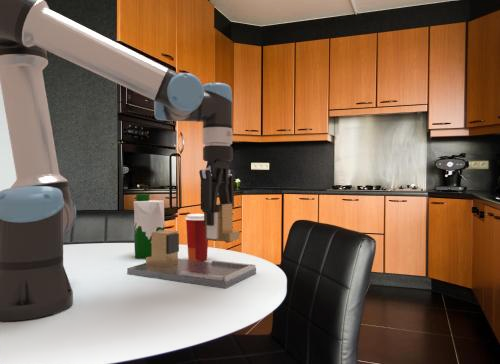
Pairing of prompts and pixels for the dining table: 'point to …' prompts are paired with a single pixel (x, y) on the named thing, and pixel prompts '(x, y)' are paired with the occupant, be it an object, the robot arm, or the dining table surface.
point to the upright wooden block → (224, 223)
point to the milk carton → (146, 223)
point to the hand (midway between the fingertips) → (218, 236)
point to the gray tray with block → (188, 265)
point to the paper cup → (196, 237)
